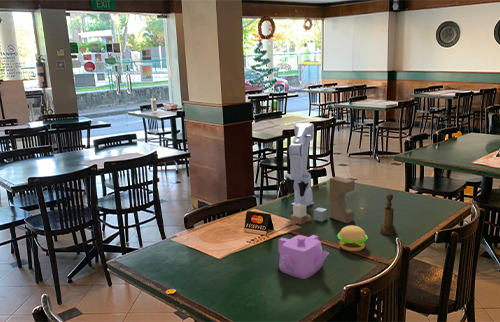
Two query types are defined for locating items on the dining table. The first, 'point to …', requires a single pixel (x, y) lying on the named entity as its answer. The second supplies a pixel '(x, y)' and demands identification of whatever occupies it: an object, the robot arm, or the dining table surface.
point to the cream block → (299, 210)
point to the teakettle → (301, 256)
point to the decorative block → (340, 199)
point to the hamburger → (352, 238)
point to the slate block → (320, 214)
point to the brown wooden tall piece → (388, 218)
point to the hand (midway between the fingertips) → (296, 194)
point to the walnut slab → (301, 219)
